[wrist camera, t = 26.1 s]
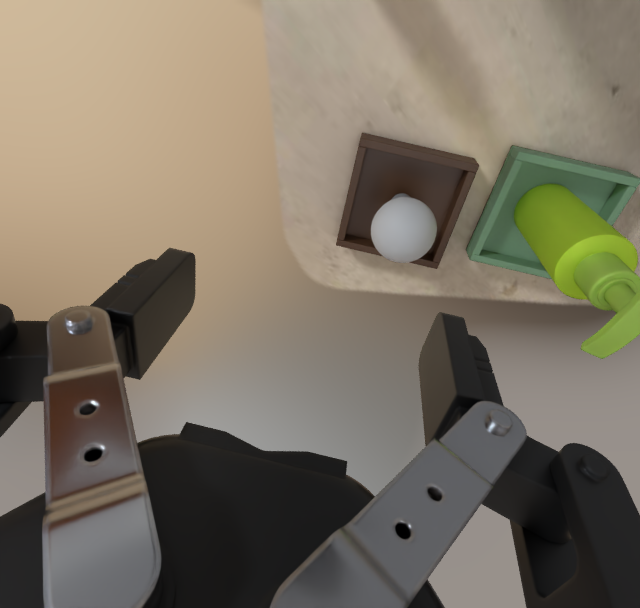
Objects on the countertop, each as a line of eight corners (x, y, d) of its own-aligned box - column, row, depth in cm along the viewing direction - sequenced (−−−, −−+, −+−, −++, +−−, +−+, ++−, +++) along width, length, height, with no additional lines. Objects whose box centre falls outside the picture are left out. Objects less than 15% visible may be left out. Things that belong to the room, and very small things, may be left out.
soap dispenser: (496, 230, 45) (558, 343, 28) (538, 174, 41) (638, 265, 24) (541, 252, 45) (628, 374, 29) (587, 197, 42) (717, 303, 25)
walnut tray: (362, 132, 42) (360, 137, 40) (474, 158, 42) (479, 165, 39) (338, 236, 49) (335, 245, 46) (435, 258, 48) (437, 269, 46)
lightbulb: (406, 162, 42) (411, 196, 33) (440, 204, 44) (454, 248, 35) (362, 199, 45) (355, 240, 36) (396, 237, 47) (397, 285, 38)
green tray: (512, 145, 40) (518, 151, 38) (629, 172, 40) (642, 179, 38) (465, 249, 47) (469, 260, 45) (565, 273, 47) (574, 284, 45)
